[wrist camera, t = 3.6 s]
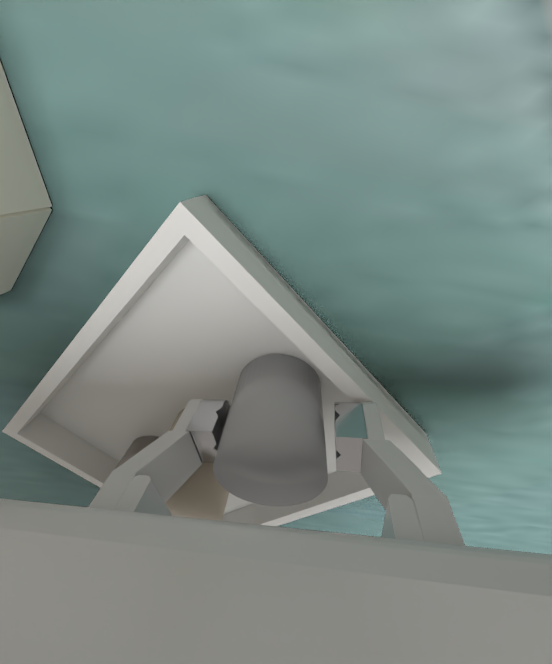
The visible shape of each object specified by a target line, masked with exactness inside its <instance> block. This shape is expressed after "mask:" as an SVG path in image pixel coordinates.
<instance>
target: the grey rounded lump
mask: <svg viewBox="0 0 552 664" xmlns="http://www.w3.org/2000/svg"><path fill="white" fill-rule="evenodd" d="M213 472H214V476H215V478H216V480H217V481H218V482H219V484H220V485H221V486H222V487H223V488H224V489H225V490H227V491H228V492H230V493H231V494H233V495H234V496H236V497H238V498H240V499H243V500H245V501H248V502H251V503H255V504H260V505H266V506H293V505H298V504H302V503H305V502H308V501H310V500H312V499H314V498H316V497H317V496H318V495H320V494H321V493H322V492H323V491H324V489H325V487H326V485H327V482H328V471H327V458H326V444H325V431H324V417H323V404H322V391H321V382H320V378H319V376H318V374H317V373H316V371H315V370H314V369H313V368H312V367H311V366H310V365H309V364H307V363H306V362H304V361H303V360H301V359H299V358H296V357H293V356H289V355H284V354H269V355H264V356H261V357H258V358H256V359H254V360H252V361H251V362H249V363H248V364H247V365H246V366H245V367H244V368H243V370H242V371H241V373H240V376H239V379H238V382H237V386H236V389H235V392H234V396H233V399H232V402H231V406H230V409H229V412H228V416H227V419H226V423H225V426H224V429H223V433H222V436H221V439H220V443H219V446H218V449H217V453H216V456H215V460H214V463H213Z"/></svg>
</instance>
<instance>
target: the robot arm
mask: <svg viewBox="0 0 552 664" xmlns="http://www.w3.org/2000/svg"><path fill="white" fill-rule="evenodd" d="M229 409H230V405H229V401H228V400H216V399H191V400H190V401H189V402H188V404H187V405H186V407H185V409H184V411H183V412H182V414H181V416H180V418H179V420H178V421H177V423H176V425H175V427H174V429H173V430H172V431H168V432H166V433H165V434H163V435H162V436H161V437H159V438H158V439H157V440H155V441H154V442H152V443H151V444H150V445H148V446H147V447H145V448H144V449H143V450H141V451H140V452H138V453H137V454H136V455H134V456H133V457H132V458H130V459H129V460H127V461H126V462H125V463H123V464H122V465H120V466H119V467H118V468H116V469H115V470H114V471H112V472H111V474H110V475H109V477H108V478H107V480H106V481H105V483H104V484H103V486H102V487H101V489H100V490H99V491H98V493H97V494H96V496H95V497H94V499H93V500H92V502H91V503H90V505H89V506H88V507H80V506H70V505H60V504H50V503H41V502H31V501H21V500H11V499H2V498H0V664H552V554H542V553H532V552H522V551H512V550H502V549H493V548H483V547H473V546H465V544H464V541H463V539H462V536H461V533H460V531H459V528H458V525H457V523H456V520H455V517H454V515H453V512H452V509H451V506H450V504H449V501H448V498H447V497H446V496H445V495H444V494H443V493H442V492H441V491H440V490H439V489H438V488H437V487H436V486H435V485H434V484H433V483H432V482H431V481H430V480H429V479H428V478H427V477H426V476H425V475H424V474H423V473H422V472H421V471H420V470H419V469H418V468H417V467H416V466H415V465H414V464H413V463H412V462H411V461H410V460H409V459H408V458H407V457H406V456H405V455H404V454H403V453H402V452H401V451H400V450H399V449H398V448H397V447H396V446H395V445H394V444H393V443H392V442H391V441H390V440H385V437H384V432H383V428H382V424H381V419H380V415H379V411H378V406H377V404H376V402H362V403H361V402H334V432H335V454H336V471H346V472H357V473H361V475H362V477H363V478H364V479H365V481H366V482H367V484H368V485H369V487H370V488H371V490H372V491H373V493H374V494H375V496H376V497H377V498H378V500H379V501H380V503H381V504H382V506H383V507H384V509H385V510H386V513H385V519H384V524H383V530H382V536H381V537H374V536H364V535H355V534H345V533H335V532H325V531H316V530H306V529H296V528H286V527H277V526H267V525H257V524H247V523H237V522H227V521H217V520H207V519H198V518H188V517H178V516H172V514H171V512H170V510H169V509H168V507H167V505H166V502H167V501H168V499H169V498H170V497H171V496H172V495H173V494H174V493H175V492H176V491H177V490H178V489H179V488H180V487H181V486H182V485H183V484H184V483H185V482H186V480H187V479H188V478H189V477H190V476H191V475H192V474H193V473H194V472H195V471H196V470H197V469H198V468H199V467H200V466H201V465H202V463H214V460H215V456H216V453H217V449H218V446H219V443H220V439H221V436H222V433H223V429H224V426H225V423H226V419H227V416H228V412H229Z"/></svg>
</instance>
